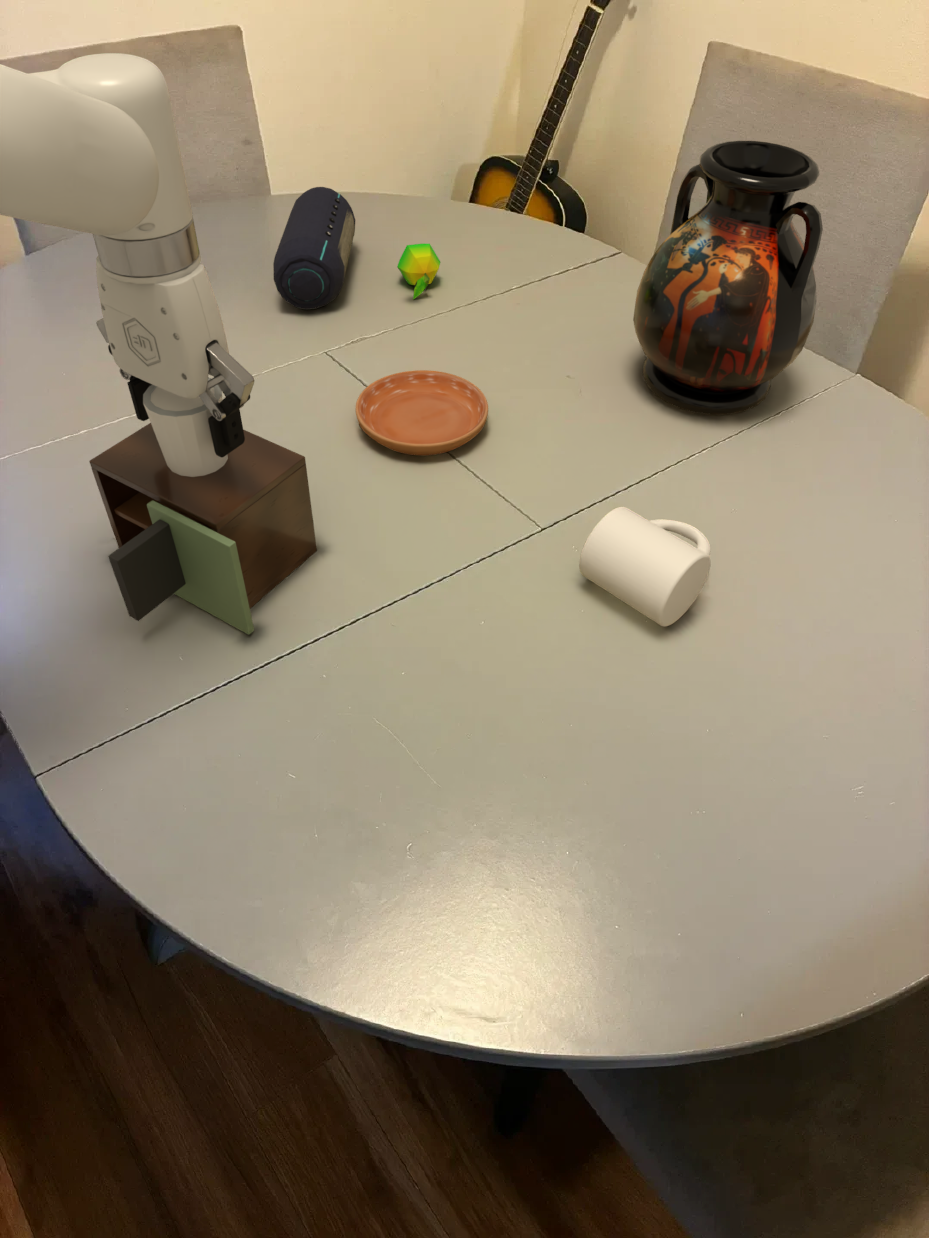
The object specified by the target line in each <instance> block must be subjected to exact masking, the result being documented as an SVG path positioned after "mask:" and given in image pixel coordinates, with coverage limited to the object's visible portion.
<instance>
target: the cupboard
mask: <svg viewBox="0 0 929 1238" xmlns="http://www.w3.org/2000/svg"><path fill="white" fill-rule="evenodd" d="M243 431H244V436H245V441H244V443H243V444H242V445H240V446H239V447H237V448H236V449H234V450H233V451H232V452H230V453H229V454H228V459H227V461H226V463H225V464H224V466H222V467H221V468H220V469H218V470H217V471H216V472H213V473H210V474H207V475H205V476H196V477H189V476H181V475H179V474H177V473H174V472H172V471H171V469H170V468H169V467H168V466H167V463H166V461H165V458H164V456H163V453H162V450H161V448H160V445H159V443H158V440H157V438H156V435H155V432H154V430H153V427H152V425H151V422H149V423H147V424H146V425H144V426H143V427H141V428H139V429H138V430H136V431H134V432H133V433H131V434H130V435H127V437H125V438H123V439H122V440H120V441H118V442H117V443H116V444H114V445H112V446H110V447H108V448H107V449H106V450H104V451H103V452H101V453H100V454H98V455H96V456H95V457H92V458H91V459H90V460H89V466H90V467H91V471H92V473H93V477H94V480H95V483H96V486H97V489H98V492H99V494H100V498H101V501H102V504H103V506H104V510H105V512H106V515H107V518H108V521H109V524H110V527H111V530H112V532H113V535H114V539H115V541H116V544H117V547H118V549H119V548H120V547H121V546H123V545H124V544H126V543H127V542H128V541H130V540H131V539H133V538H134V537H135V536H137V535H138V534H140V533H141V532H142V531H144V530H145V529H147V528H148V527H149V526H151V525H152V521H151V518H150V514H149V511H148V508H147V504H148V503H149V502H151V501H152V500H153V501H155V502H157V503H159V504H161V505H163V506H165V507H167V508H169V509H171V510H173V511H175V512H177V513H179V514H181V515H183V516H185V517H187V518H189V519H191V520H193V521H195V522H197V523H199V524H201V525H203V526H205V527H207V528H209V529H211V530H213V531H215V532H217V533H219V534H221V535H223V536H225V537H227V538H229V539H231V540H233V541H235V542H236V547H237V551H238V556H239V561H240V566H241V570H242V575H243V580H244V584H245V589H246V594H247V598H248V603H249V608H250V609H251V608H253V607H254V606H255V605H257V603H259V602H260V601H261V600H262V599H263V598H264V597H265V596H266V595H268V594H269V593H270V592H271V591H272V590H274V589H275V588H276V587H277V586H278V585H280V584H281V582H283V581H284V580H285V579H287V577H288V576H290V575H291V574H293V572H294V571H295V570H297V569H298V568H299V567H300V566H301V565H302V564H304V563H305V562H306V561H307V560H309V558H311V557H312V556H313V555H314V554H315V553H317V551H318V547H317V540H316V532H315V524H314V516H313V509H312V501H311V493H310V485H309V484H310V483H309V477H308V469H307V461H306V457H305V456H304V455H302V454H300V453H297V452H295V451H293V450H291V449H289V448H286V447H284V446H282V445H279V444H277V443H275V442H273V441H270V440H268V439H267V438H264V437H261V436H259V435H257V434H255V433H252V432H251V431H248V430H246V429H243Z"/></svg>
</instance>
